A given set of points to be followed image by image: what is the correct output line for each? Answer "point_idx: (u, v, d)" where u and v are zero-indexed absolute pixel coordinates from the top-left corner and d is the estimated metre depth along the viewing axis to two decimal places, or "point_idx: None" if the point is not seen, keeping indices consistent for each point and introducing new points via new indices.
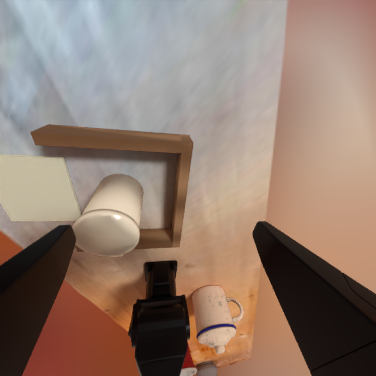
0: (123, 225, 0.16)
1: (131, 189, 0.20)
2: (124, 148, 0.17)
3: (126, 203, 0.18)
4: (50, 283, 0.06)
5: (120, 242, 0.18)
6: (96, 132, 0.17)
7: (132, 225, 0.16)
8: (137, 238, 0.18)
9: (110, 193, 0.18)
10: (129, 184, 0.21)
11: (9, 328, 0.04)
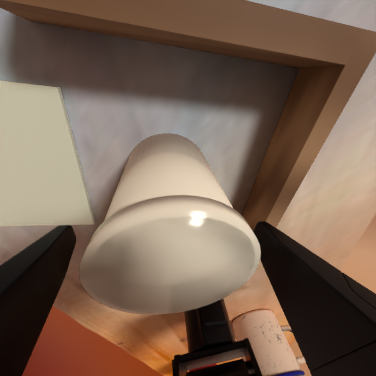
0: (233, 245, 0.06)
1: (203, 159, 0.10)
2: (222, 35, 0.06)
3: (216, 186, 0.07)
4: (50, 283, 0.06)
5: (206, 285, 0.07)
6: None
7: (256, 245, 0.06)
8: (248, 275, 0.07)
9: (173, 162, 0.07)
10: (196, 151, 0.10)
11: (9, 328, 0.04)
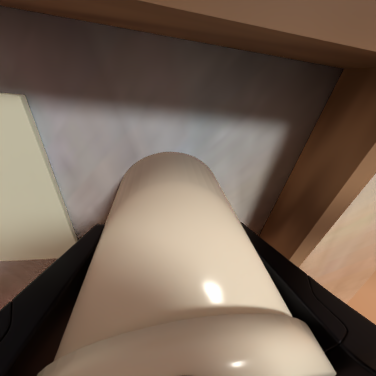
0: None
1: (219, 190, 0.07)
2: (261, 16, 0.04)
3: (247, 246, 0.05)
4: None
5: None
6: None
7: None
8: None
9: (181, 209, 0.05)
10: (209, 178, 0.08)
11: (67, 322, 0.05)
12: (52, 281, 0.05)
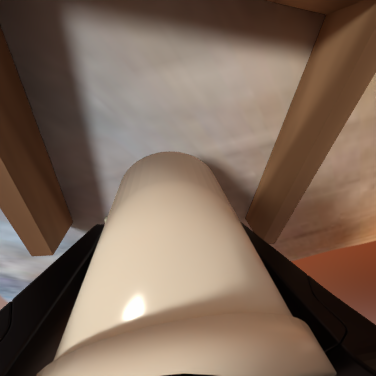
0: None
1: (219, 190, 0.07)
2: None
3: (247, 246, 0.05)
4: None
5: None
6: None
7: None
8: None
9: (181, 209, 0.05)
10: (209, 178, 0.08)
11: (67, 321, 0.05)
12: (52, 281, 0.05)
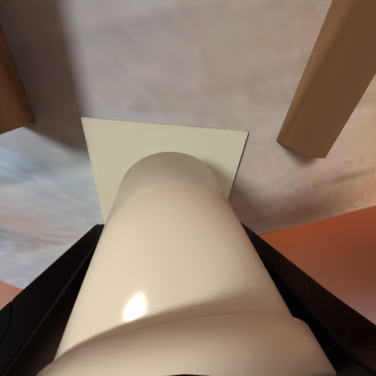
0: None
1: (219, 190, 0.07)
2: None
3: (247, 246, 0.05)
4: None
5: None
6: None
7: None
8: None
9: (181, 209, 0.05)
10: (209, 178, 0.08)
11: (67, 321, 0.05)
12: (52, 281, 0.05)
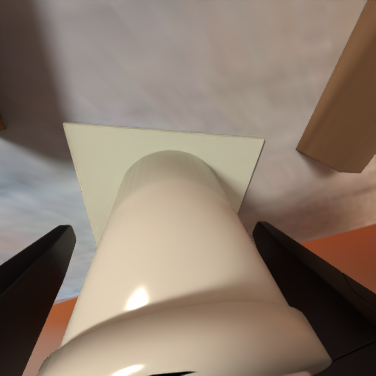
0: (290, 371, 0.03)
1: (219, 188, 0.07)
2: None
3: (246, 241, 0.05)
4: (50, 283, 0.06)
5: None
6: None
7: (325, 364, 0.03)
8: None
9: (182, 205, 0.05)
10: (209, 176, 0.08)
11: (9, 328, 0.04)
12: None
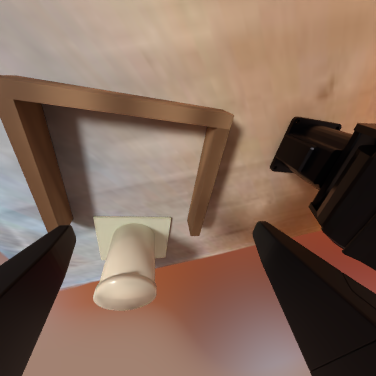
0: (143, 287, 0.17)
1: (147, 241, 0.21)
2: (37, 174, 0.14)
3: (144, 261, 0.19)
4: (50, 283, 0.06)
5: (138, 299, 0.19)
6: None
7: (151, 287, 0.18)
8: (154, 296, 0.19)
9: (129, 252, 0.19)
10: (144, 236, 0.22)
11: (9, 328, 0.04)
12: None
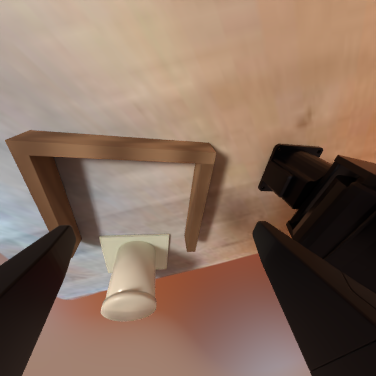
0: (144, 302, 0.20)
1: (147, 258, 0.24)
2: (50, 209, 0.17)
3: (145, 278, 0.21)
4: (50, 283, 0.06)
5: (140, 312, 0.21)
6: None
7: (151, 301, 0.20)
8: (154, 308, 0.21)
9: (131, 269, 0.21)
10: (145, 252, 0.24)
11: (9, 328, 0.04)
12: None
